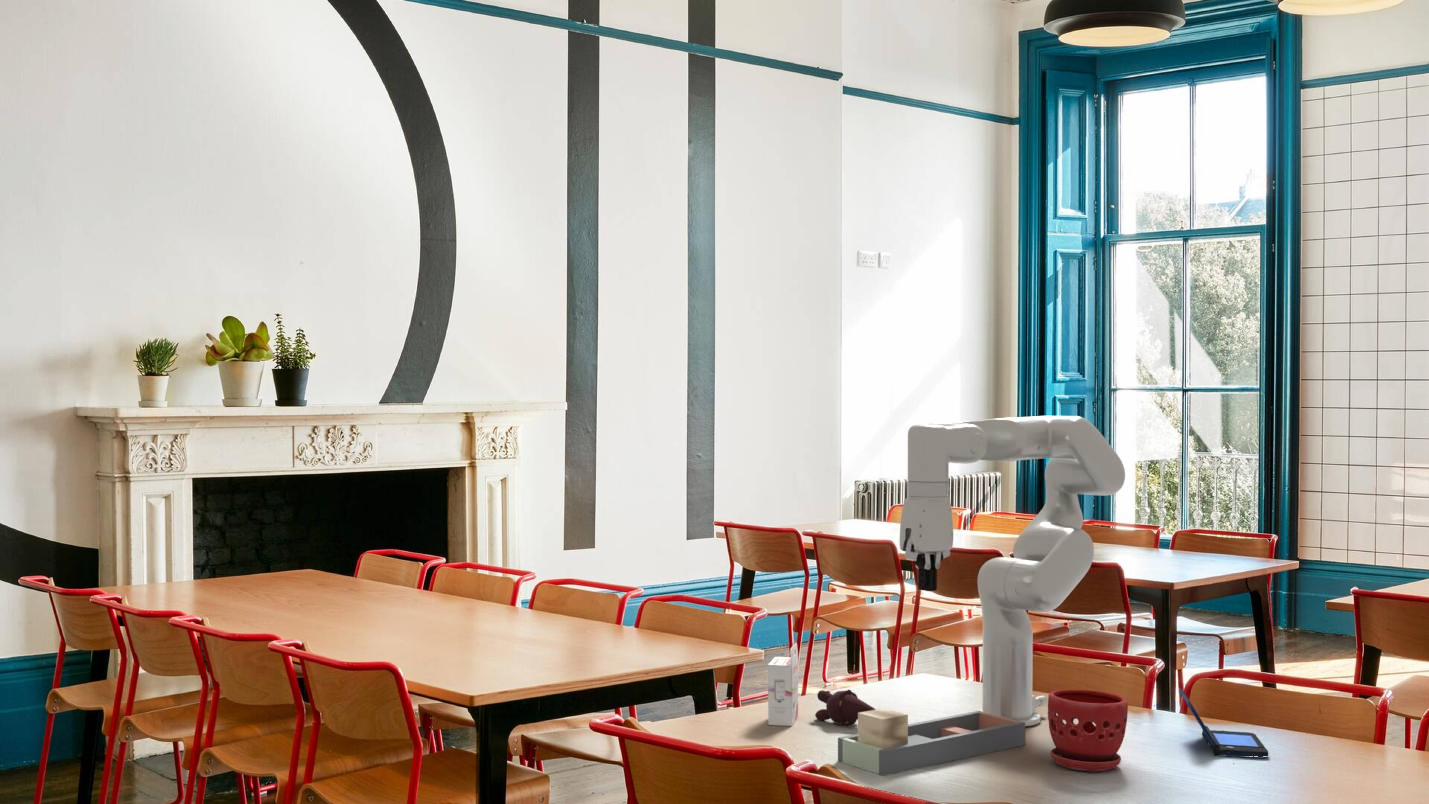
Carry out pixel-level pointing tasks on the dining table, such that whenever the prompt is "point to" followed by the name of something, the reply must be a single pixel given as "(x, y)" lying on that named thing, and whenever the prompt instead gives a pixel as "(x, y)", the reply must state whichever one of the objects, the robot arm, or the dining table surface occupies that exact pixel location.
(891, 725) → the maple block
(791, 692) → the ink cartridge box
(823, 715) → the gnome figurine
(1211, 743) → the handheld game console
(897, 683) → the dining table surface
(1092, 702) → the plant pot
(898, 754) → the compartment tray
